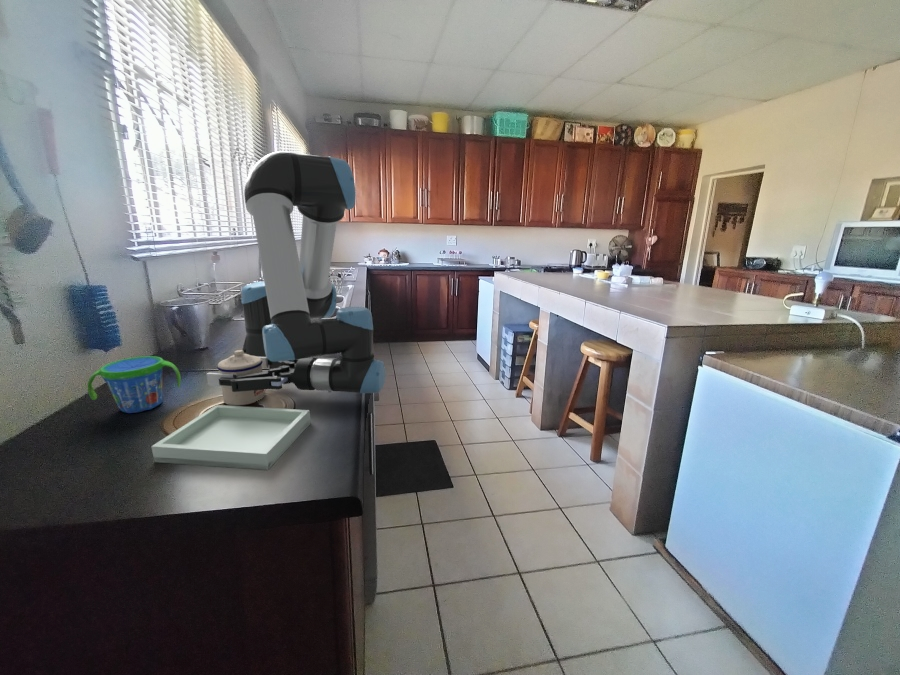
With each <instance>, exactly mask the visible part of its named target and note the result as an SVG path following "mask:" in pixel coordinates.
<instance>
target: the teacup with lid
mask: <svg viewBox="0 0 900 675" xmlns="http://www.w3.org/2000/svg"><path fill="white" fill-rule="evenodd" d="M216 368H217V370H218V373H229V374H233V373H236V374H237V376H240V375H247V374H254V373H261V372H263V368H262V360H261V358H259V357H257V356H251V355H249V354H244V351H243V349H238V350H234V351H233V354H232V355H230V356H228V358H225V359H222V360H220V361H219V362H218V363H217V367H216ZM220 387H221V394H222V400H223V402H224V403H225V404H226V405H227V406H246V405H247V406H248V405H250V404H254V403H257V402H259V401H260V399H261V400H262V399H263V398H265V396H266V392H265V391H266V389H264V390H252V391H240V392H232V387H231V386H220ZM258 400H259V401H258ZM256 401H257V402H256Z"/></svg>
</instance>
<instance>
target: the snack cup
mask: <svg viewBox="0 0 900 675" xmlns="http://www.w3.org/2000/svg"><path fill="white" fill-rule="evenodd" d="M164 367H169V368H172V370H173V371H174V373H175V376H176V382H177V388H180V387H181V386H180V385H181V383H182V382H181V381H182V378H181V373H180V371H179V370H180V369H179V368H178V367H177V366H176V365H175V364H174V363H173V362H170V361H169V360H165V359H163V357H160V356H155V355H153V356H152V355H149V356H147V355H146V356H136V357H128V358H122V359H119V360H116V361H111V362H109V363H107V364H105V365H103V366H102V367H100V369H98V370H96V371H95V372H94V373H92V375H91V376H90V377H89V380H88V382H87V393H88V395H89V397H90V399H91V400H92V401H95V400H97V398H98V394H97V393H96V391H95V388H94V386H93V382H94V380H95V378H96V377H97V376H101V378H102V379H103V380H104V382H105V383H106V384H107V386H108V387H107V388H109V391H110V393H111V395H112V397H113V399H114V402H115V403H116V405H117V407H118V409H119V410H120V411H121V412H123V413H127V414H133V413H141V412H145V411H148V410H152V409H153V408H156V407H158V406H159V405H160V404H162V403H163V400H164V394H163V391H164V389H163V388H164V386H163V382H164V381H163V368H164Z"/></svg>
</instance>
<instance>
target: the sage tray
mask: <svg viewBox="0 0 900 675" xmlns="http://www.w3.org/2000/svg"><path fill="white" fill-rule="evenodd" d="M310 412H311V411H310V409H294V408H279V407H276V408H275V407H259V406H245V405H239V406H233V405H228V404H226V405H224V404H216V405H214V406H212V407H211V408H209V409H207V410H206V411H204V412H203V413H202V414H200V415H198V416H196V417H195V418H194V419H192V420H190V421H189V422H187V423H186V424H184V425H183V426H181V427H179V428H178V429H176V430H175V431H173V432H171V433H170V434H168V435H167V436H165V437H164V438H162V439H161V440H159V441H157V442H156V443H155V444H153V445H151V446H150V448H151V452H152V456H153V461H154V463H159V464H161V463H163V464H175V465H179V464H180V465H192V466H206V467H217V468H218V467H219V468H220V467H221V468H234V469H250V470H264V471H268V470H269V469H271V468H272V467H273V465H274V464H275V463H276V462H277V461H278V460H279V459H280V458H281V457H282V455H284V453H285V452H287V450H288V449H289V448H290V447H291V446H292V445H293V443H294V442H295V441H296V440H298V438H299V437H300V436H301V434H303V432H305V430H306V429H307V428H308V427H309V426H310V425H311V413H310Z"/></svg>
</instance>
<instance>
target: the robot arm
mask: <svg viewBox="0 0 900 675" xmlns="http://www.w3.org/2000/svg"><path fill="white" fill-rule="evenodd" d="M247 175H248V176H247V178H246V181H245V184H244V185H245V186H244V190H243V191H244V193H243V194H244V195H243V196H244V203H245V208H246V211H247V212H248V213H249V215H251V216H252V218H253V224H254V229H255V230H254V231H255V235H256V241H257V243H256V244H257V249H258V252H259V254H258V255H259V259H260V265H261V271H262V275H263V281H258V282H253V283H249V284H246V285H244V286H243V287H242V288H241V292H240V293H241V304H242V310H243V317H244V318H243V320H244V328H245V329H244V330H245V337H244V341H243V345H242V346H243V347H242V350H243V351H244V354H249V355H251V356H257V357H259V358H261V360H262V369H268V368H269V369H268V370H267V371H262V372H261V373H254V374H247V375H240V376H237V374H236V373H233V374H229V373H219V372H207V373H206V380H207V385H208V386H213V387H214V386H215V387H216V386H217V387H221V386H231V387H232V392H240V391H252V390H264V389H265V390H282V389H283V385H287V384H291V383H292V384H293V385H294V386H295V387H296V388H297V389H298V390H300V391H323V392H328V393H332V392H341V393H343V392H345V393H356V394H358V393H359V394H376V393H380V392H381V390H383V388H384V385H385V380H386V379H385V378H386V368H385V363H384V361H382V360H378V359H375V355H374V325H373V316H372V312H371V310H370V309H369V308H367V307H362V306H346V307H341V308H338V310H337V311H336V308H337V303H338V302H337V290H336V287H335V285H334V283H332V282H331V280H330V279H329V277H330V270H331V264H332V257H333V250H334V243H335V238H336V231H337V224H338V223H339V222H340V221H342V220H343V219H344V216H345V213H346V212H345V211H346V210H347V211H348V210H352V209H354V208H355V206H356V196H357V195H356V184H355V179H354V175H353V171H352V168H351V167H350V164H349V162H348V161H347V160H344V159H341V158H337V157H332V156H330V155H329V156H321V155H312V154H306V153H299V152H297V153H296V152H290V151H283V150H281V151H275V152H271V153H268V154H266V155H264V156H263V157H261V158H260V159H259V160H258V161H257V162H256V163H255V164H254V166H253V167H252V168H251V170H250V171H249V174H247ZM294 207H296V208H297V210H298V212H299V214H300V215H301V216H302V224H301V236H300V249H299V252H298V247H297V242H296V237H295V234H294V227H293V223H292V222H293V221H292V217H291V214H292V213H293V211H294ZM335 311H336V315H335V318H330V317H332V316H333V315H334V313H335ZM327 318H329V319H327ZM335 354H338V357H339V358H335V357H321V356H328V355H335Z"/></svg>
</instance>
